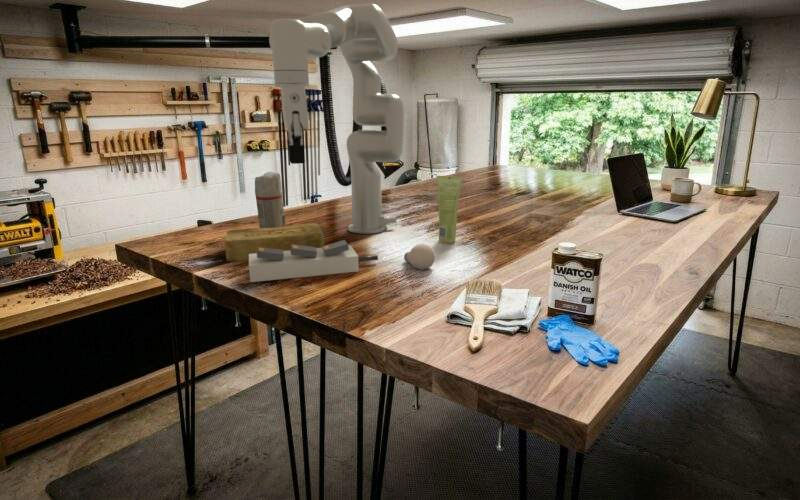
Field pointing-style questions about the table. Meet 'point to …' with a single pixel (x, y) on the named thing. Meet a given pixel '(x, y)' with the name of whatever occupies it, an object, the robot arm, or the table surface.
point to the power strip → (304, 265)
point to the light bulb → (420, 256)
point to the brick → (271, 239)
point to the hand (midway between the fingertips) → (297, 162)
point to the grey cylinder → (269, 200)
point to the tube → (448, 206)
